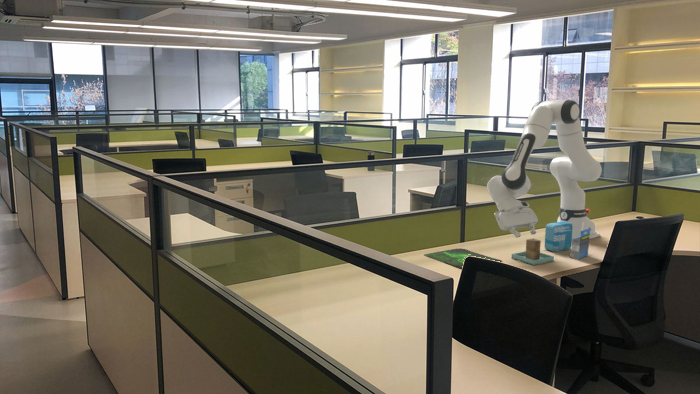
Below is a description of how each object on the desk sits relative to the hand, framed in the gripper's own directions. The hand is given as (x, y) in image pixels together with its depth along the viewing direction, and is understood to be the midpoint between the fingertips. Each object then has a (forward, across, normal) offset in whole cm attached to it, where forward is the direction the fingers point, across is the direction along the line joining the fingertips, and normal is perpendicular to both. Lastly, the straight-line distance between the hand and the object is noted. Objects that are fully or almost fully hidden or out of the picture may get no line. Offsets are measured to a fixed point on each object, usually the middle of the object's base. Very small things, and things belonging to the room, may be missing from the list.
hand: (526, 235), depth 241 cm
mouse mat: (-2, -24, +16) cm, 29 cm away
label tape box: (+15, +21, -1) cm, 26 cm away
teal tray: (+10, 0, +4) cm, 10 cm away
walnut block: (+9, 0, +4) cm, 10 cm away
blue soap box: (+6, +23, +8) cm, 25 cm away
